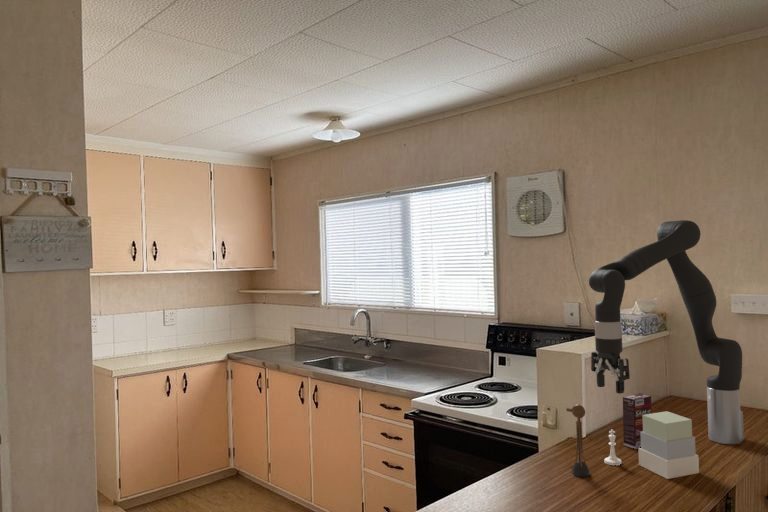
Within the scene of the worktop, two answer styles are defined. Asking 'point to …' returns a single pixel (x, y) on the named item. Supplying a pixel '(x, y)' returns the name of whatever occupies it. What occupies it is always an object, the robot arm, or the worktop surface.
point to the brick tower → (668, 445)
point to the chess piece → (612, 451)
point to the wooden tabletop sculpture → (579, 443)
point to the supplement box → (634, 418)
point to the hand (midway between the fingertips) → (610, 389)
